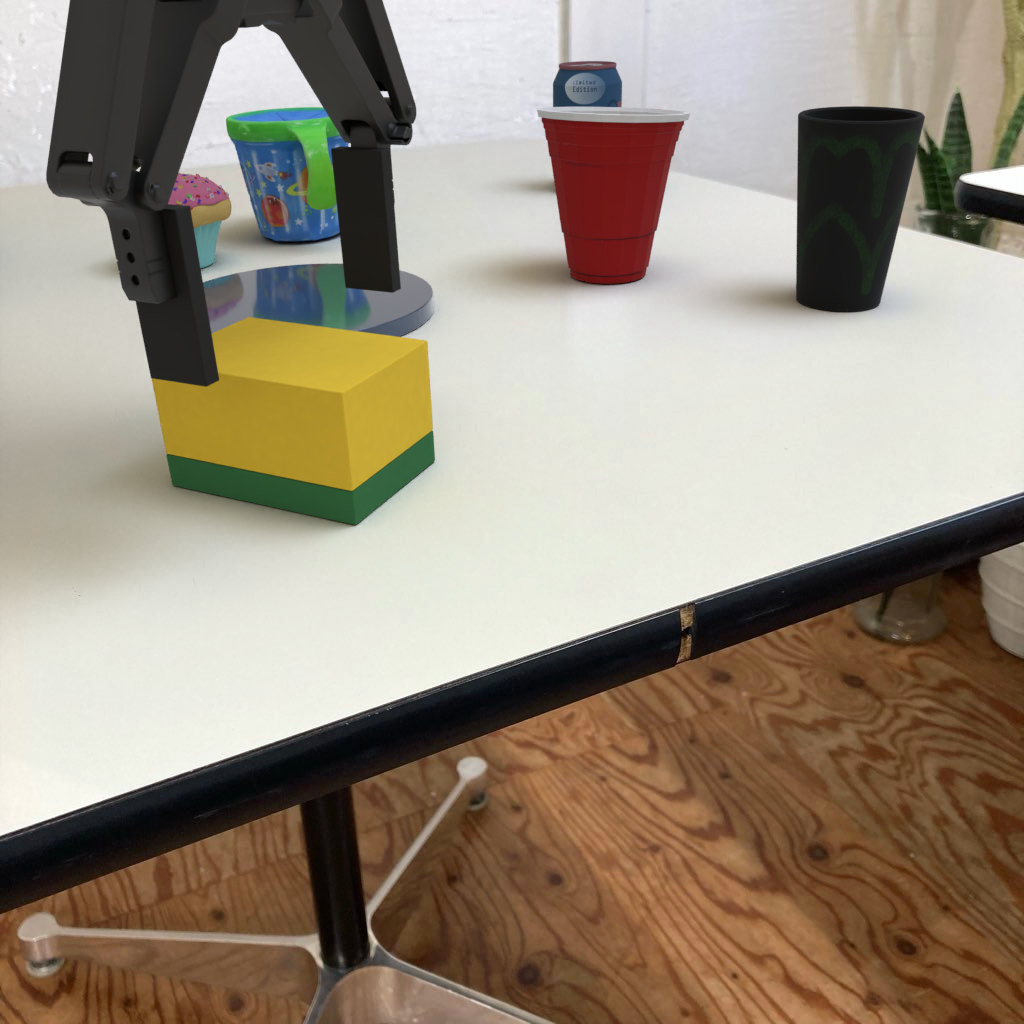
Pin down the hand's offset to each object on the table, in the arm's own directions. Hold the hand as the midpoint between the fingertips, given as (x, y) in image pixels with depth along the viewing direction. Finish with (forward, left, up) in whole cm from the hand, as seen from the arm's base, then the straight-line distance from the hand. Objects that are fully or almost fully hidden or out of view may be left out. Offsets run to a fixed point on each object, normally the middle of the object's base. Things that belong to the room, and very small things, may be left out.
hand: (290, 329), depth 45 cm
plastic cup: (+1, +38, -7) cm, 39 cm away
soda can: (-13, +69, -7) cm, 71 cm away
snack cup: (-29, +41, -7) cm, 51 cm away
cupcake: (-32, +29, -7) cm, 44 cm away
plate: (-15, +21, -7) cm, 27 cm away
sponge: (0, 0, -7) cm, 7 cm away
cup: (+18, +37, -7) cm, 42 cm away
